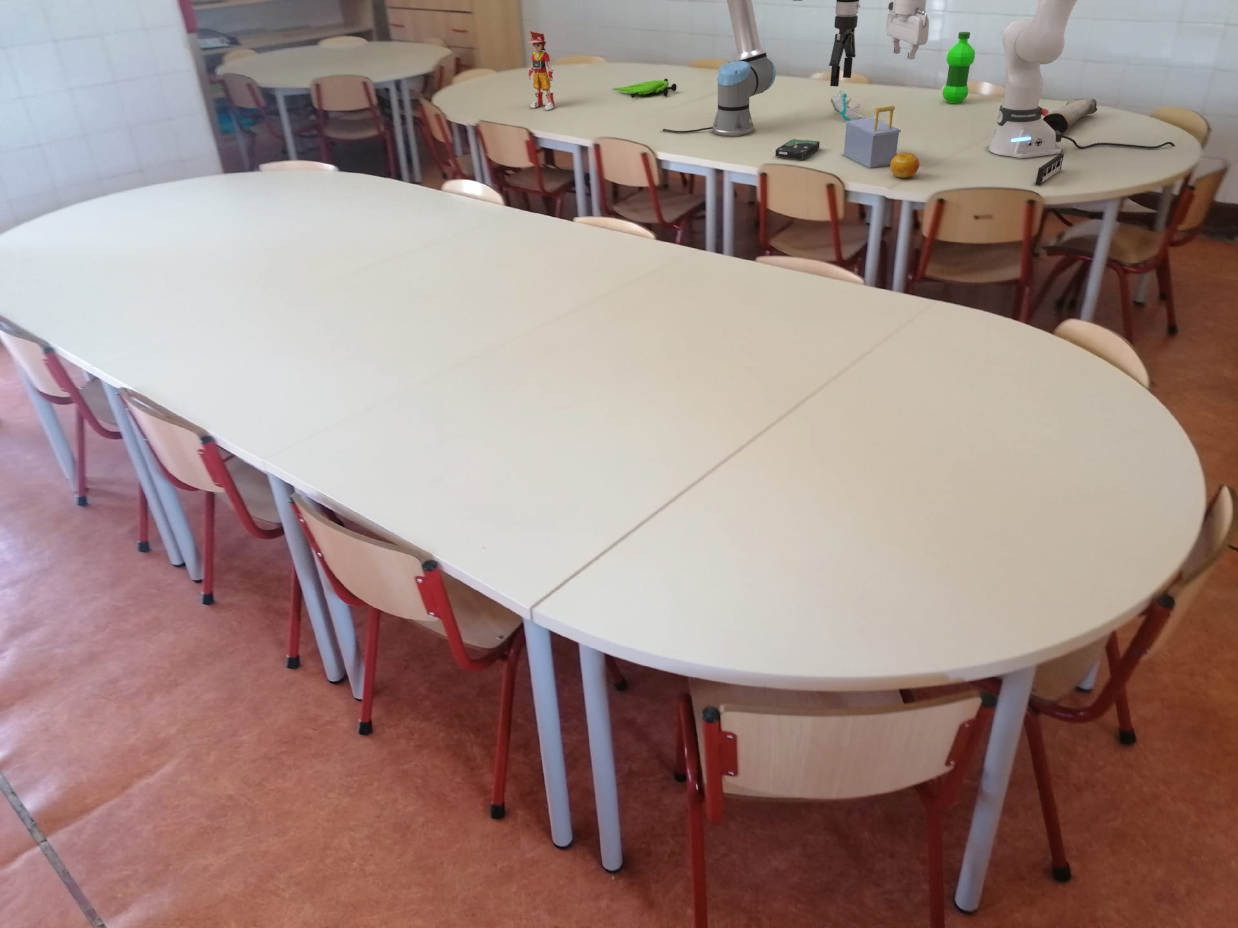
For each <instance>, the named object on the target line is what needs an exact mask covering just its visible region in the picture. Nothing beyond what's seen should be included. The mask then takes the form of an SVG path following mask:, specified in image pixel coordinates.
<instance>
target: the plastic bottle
mask: <svg viewBox="0 0 1238 928" xmlns="http://www.w3.org/2000/svg"><path fill="white" fill-rule="evenodd" d="M970 36H971V32H970V31H959V32H958V36H957V39H958V42H957V43H956V44H954V45H953V46H952V47H951V48H950V49H949V50H948V52H947V54H946V63H947V64H948V69H947V70H948V71H947V76H946V77H947V78H946V84H945V85H944V87H943V90H942V97H943V99H944V100H945V101H946V102H947V103H948V104H960V103H961V102H963V101H964V100H966V98H967V96H968V95H969V85H968V79H969V73H970V67H971V65H972V64H973V63H974V61H975V57H976V51H975V49H974V47H972V45H971V44H970V43H969V42H968V41H969V39H970V38H971V37H970Z"/></svg>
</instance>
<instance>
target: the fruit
mask: <svg viewBox="0 0 1238 928" xmlns="http://www.w3.org/2000/svg"><path fill="white" fill-rule="evenodd" d="M889 167H890V172H891V173H892V175H894V176H895V177H897V178H903V179H907V178H911V177H913V176H915V174H916V173H917V172H918V170H919V169H920V161H919V159H918V157H917V156H916V155H915V154H914V153H911V152H901V153H897V154H896V156H895V157H894V158H893V159H892V161H891V165H889Z"/></svg>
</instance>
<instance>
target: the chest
mask: <svg viewBox="0 0 1238 928" xmlns="http://www.w3.org/2000/svg"><path fill="white" fill-rule="evenodd" d="M845 126H846V127H845V135H844V147H843V156H845V157H847V158H849V159H851V160H853V161H855V162H857V163H859V164H861V165H862V166H865V167H867V168H869V169H873V168H878V167H885V166H890V165H891V161H892V159H893V158H894V157H895V156H896V155H897V154H898V153H897V152H898V145H899V144H898V143H899V136H900V132H899V133H893V134H886V135H880V136H873V135H871V134H869V133H867V132H864V131H862V130H860V129H858V128H855V127H853V126H851V125H849V124H847V123H846V124H845Z"/></svg>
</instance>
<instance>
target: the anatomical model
mask: <svg viewBox="0 0 1238 928" xmlns="http://www.w3.org/2000/svg"><path fill="white" fill-rule="evenodd" d="M847 97H848V95H847V92H845V91H844V90H842V89H841V90H839V93H837V95H833V96H831V97H830V103H831V106H832V107H833V110H834V111H835V112H836V113H839V114H840V115H841V117H842V119H843V120H844V121H846V122H847V121H851V120H858V119H864V115H863V114H859V113H858V110H859V108H860V106H861V104H856V105H854V106H850V105H849V104H850V102H851V101H852V98H848V99H847Z"/></svg>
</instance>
